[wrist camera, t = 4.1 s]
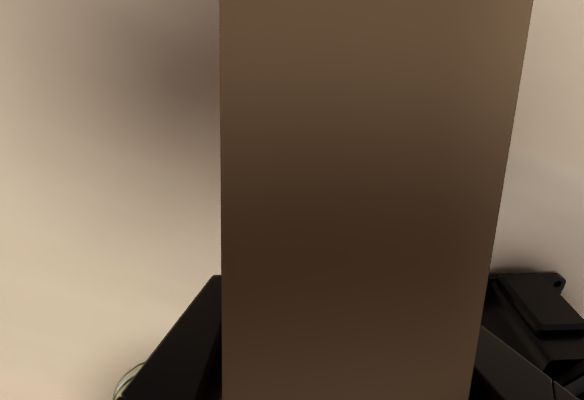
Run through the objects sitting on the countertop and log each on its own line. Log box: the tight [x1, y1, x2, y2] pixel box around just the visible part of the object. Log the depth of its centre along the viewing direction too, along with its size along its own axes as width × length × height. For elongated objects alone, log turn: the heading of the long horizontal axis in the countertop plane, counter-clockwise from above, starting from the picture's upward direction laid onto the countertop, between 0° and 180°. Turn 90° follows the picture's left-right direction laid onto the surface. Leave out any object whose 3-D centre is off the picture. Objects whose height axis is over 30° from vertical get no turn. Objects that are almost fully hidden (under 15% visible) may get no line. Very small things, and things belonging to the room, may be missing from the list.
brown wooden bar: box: [220, 0, 533, 400], centre depth 7 cm, size 16×4×6 cm, turn 177°
